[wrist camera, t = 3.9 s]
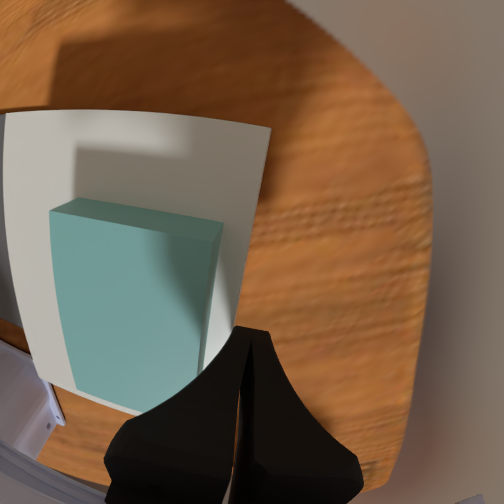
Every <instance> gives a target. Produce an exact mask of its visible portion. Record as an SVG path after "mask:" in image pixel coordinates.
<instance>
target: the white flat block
mask: <svg viewBox="0 0 504 504" xmlns="http://www.w3.org/2000/svg"><path fill="white" fill-rule="evenodd" d="M271 131H272V129H271V128H268V127H263V126H257V125H252V124H246V123H240V122H233V121H227V120H220V119H212V118H205V117H196V116H187V115H178V114H167V113H155V112H141V111H122V110H45V111H27V112H14V113H6V119H5V131H4V148H3V198H4V215H5V227H6V237H7V246H8V254H9V260H10V267H11V273H12V279H13V284H14V289H15V294H16V299H17V303H18V308H19V312H20V316H21V320H22V324H23V328H24V332H25V335H26V339H27V342H28V346H29V349H30V352H31V355H32V358H33V361H34V364H35V367H36V370H37V373H38V376H39V378H41V379H43V380H45V381H47V382H50V383H52V384H54V385H56V386H58V387H61V388H63V389H65V390H68V391H70V392H72V393H75V394H77V395H80V396H82V397H84V398H87V399H90V400H92V401H95V402H97V403H100V404H103V405H106V406H108V407H111V408H114V409H117V410H120V411H123V412H126V413H129V414H132V415H135V416H138V415H140V414H142V412H139V411H136V410H133V409H129V408H126V407H123V406H120V405H117V404H114V403H112V402H109V401H106V400H103V399H100V398H98V397H95V396H92V395H90V394H87V393H85V392H82V391H80V390H77V388H76V385H75V381H74V378H73V374H72V370H71V366H70V362H69V358H68V354H67V350H66V345H65V341H64V336H63V331H62V326H61V321H60V315H59V309H58V303H57V297H56V290H55V282H54V274H53V265H52V255H51V242H50V225H49V210H51V209H54V208H56V207H58V206H60V205H62V204H65V203H67V202H69V201H72V200H74V199H76V198H86V199H92V200H98V201H104V202H110V203H116V204H122V205H128V206H134V207H140V208H146V209H152V210H157V211H163V212H169V213H174V214H180V215H185V216H191V217H196V218H202V219H207V220H213V221H218V222H223V229H222V235H221V242H220V249H219V255H218V262H217V269H216V276H215V283H214V290H213V297H212V304H211V312H210V319H209V327H208V334H207V342H206V350H205V358H204V367H203V370H204V369H205V368H206V367H207V365H208V364H209V363H210V362H211V361H212V360H213V359H214V358H215V356H216V355H217V354H218V352H219V351H220V350H221V348H222V347H223V346H224V344H225V343H226V341H227V340H228V338H229V336H230V334H231V332H232V330H233V327H234V325H235V320H236V315H237V309H238V304H239V299H240V293H241V288H242V283H243V277H244V272H245V267H246V262H247V256H248V251H249V246H250V241H251V235H252V230H253V225H254V220H255V214H256V209H257V204H258V199H259V193H260V188H261V183H262V178H263V173H264V167H265V162H266V157H267V152H268V147H269V141H270V136H271Z"/></svg>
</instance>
